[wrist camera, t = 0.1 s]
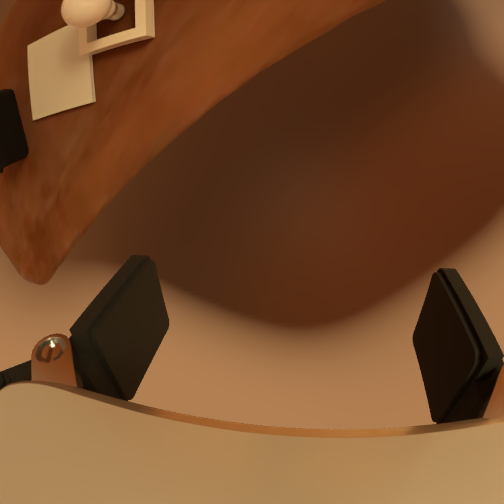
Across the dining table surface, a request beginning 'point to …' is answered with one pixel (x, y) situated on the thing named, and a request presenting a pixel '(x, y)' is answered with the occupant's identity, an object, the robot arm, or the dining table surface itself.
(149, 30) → the socket collar
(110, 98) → the dining table surface
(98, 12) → the lightbulb
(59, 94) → the felt mat
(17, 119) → the film camera
